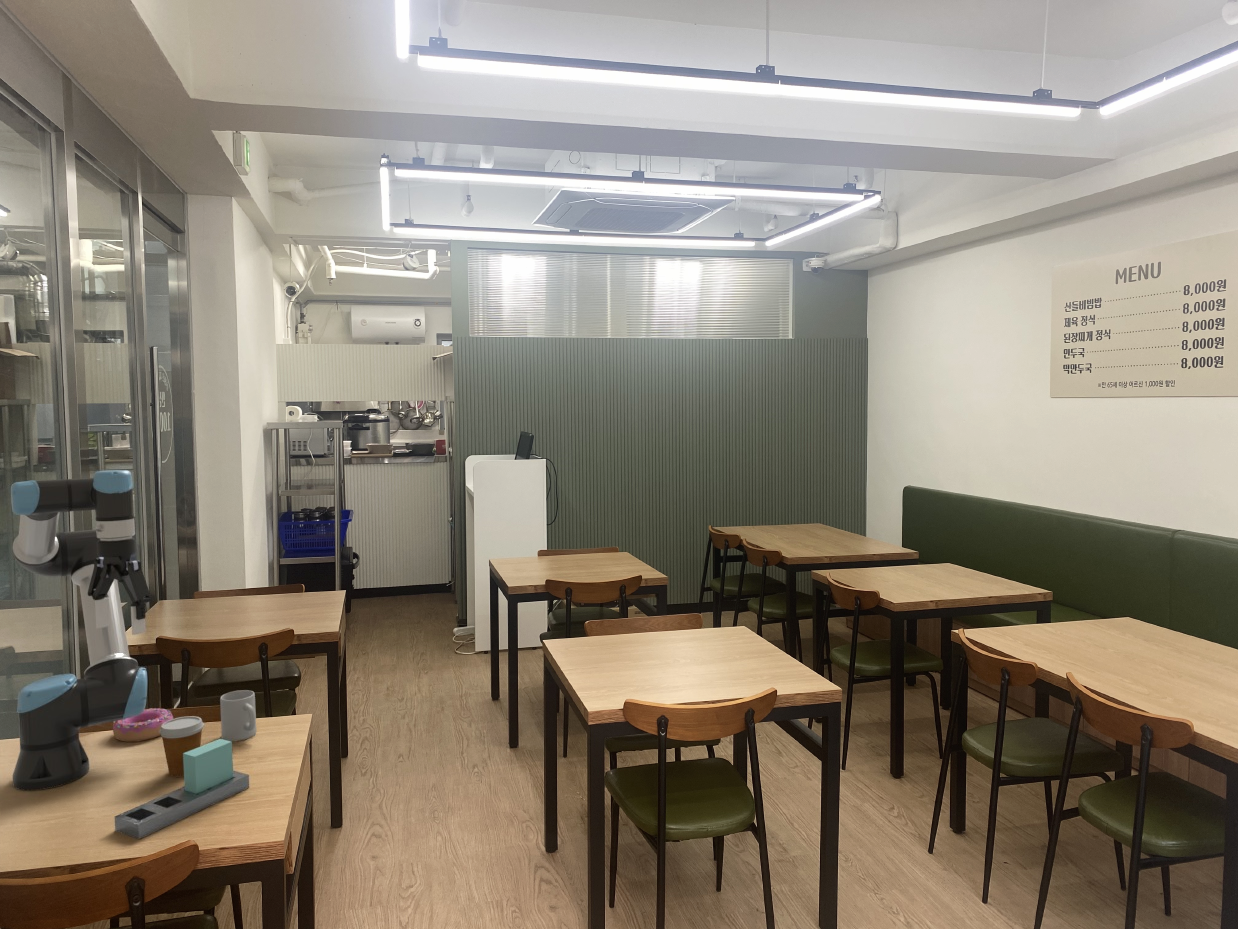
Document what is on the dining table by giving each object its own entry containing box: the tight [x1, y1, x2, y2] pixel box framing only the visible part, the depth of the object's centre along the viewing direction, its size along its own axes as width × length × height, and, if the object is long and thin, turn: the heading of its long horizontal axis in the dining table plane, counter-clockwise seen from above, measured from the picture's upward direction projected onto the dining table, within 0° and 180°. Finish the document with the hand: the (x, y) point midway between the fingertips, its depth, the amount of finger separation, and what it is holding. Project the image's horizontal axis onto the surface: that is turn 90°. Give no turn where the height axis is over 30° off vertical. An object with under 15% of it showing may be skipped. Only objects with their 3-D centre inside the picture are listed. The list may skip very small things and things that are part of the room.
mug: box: [219, 689, 257, 742], centre depth 221 cm, size 12×8×11 cm
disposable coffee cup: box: [159, 715, 205, 778], centre depth 200 cm, size 10×10×12 cm
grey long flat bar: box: [114, 769, 250, 840], centre depth 181 cm, size 8×26×3 cm, turn 152°
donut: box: [112, 707, 174, 743], centre depth 225 cm, size 14×14×5 cm
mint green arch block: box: [183, 738, 234, 794], centre depth 186 cm, size 4×9×11 cm, turn 152°
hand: (120, 630), depth 190 cm, fingers open, 13 cm apart
